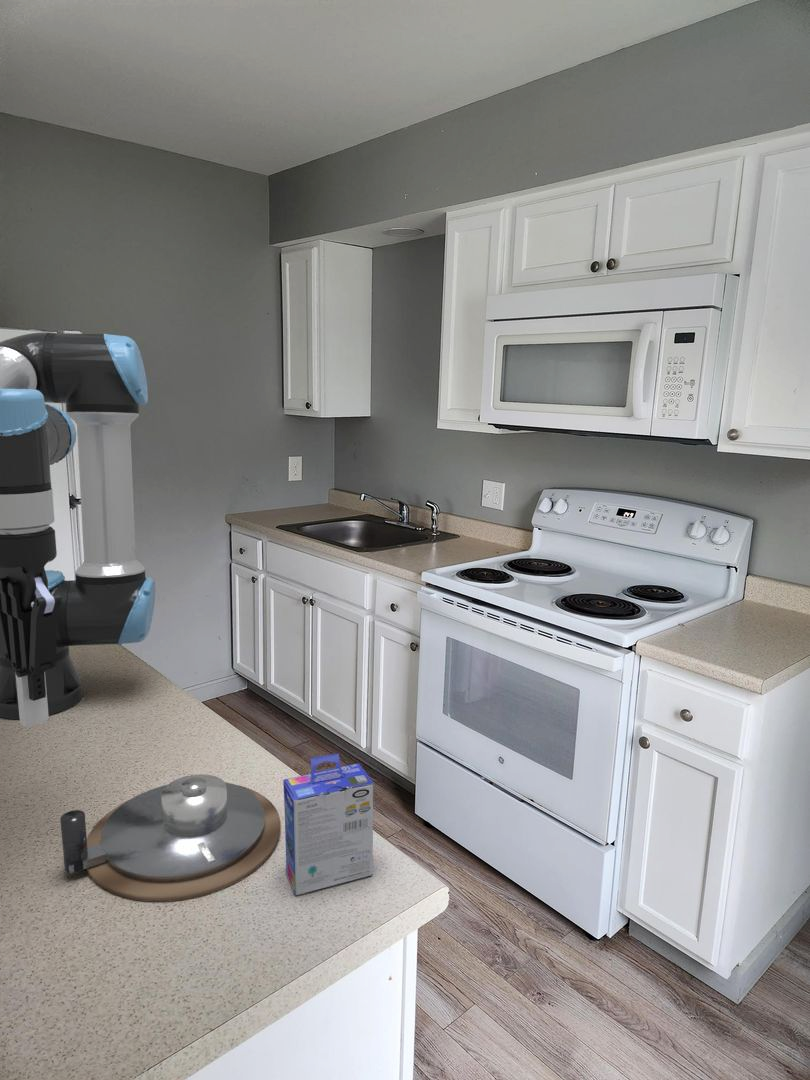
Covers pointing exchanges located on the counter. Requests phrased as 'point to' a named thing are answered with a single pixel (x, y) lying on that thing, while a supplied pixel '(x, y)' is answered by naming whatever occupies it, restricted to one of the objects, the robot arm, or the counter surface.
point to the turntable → (163, 839)
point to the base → (193, 887)
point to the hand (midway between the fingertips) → (34, 721)
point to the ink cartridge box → (328, 826)
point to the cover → (194, 805)
